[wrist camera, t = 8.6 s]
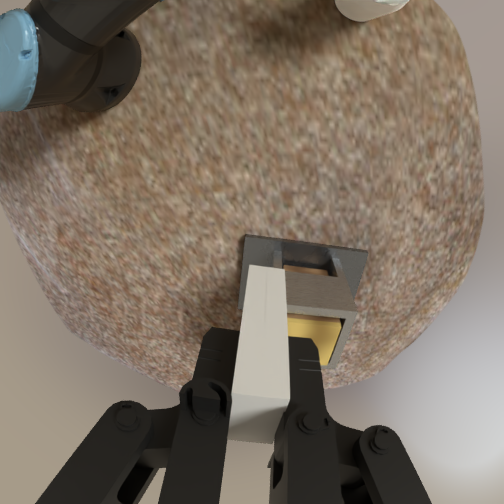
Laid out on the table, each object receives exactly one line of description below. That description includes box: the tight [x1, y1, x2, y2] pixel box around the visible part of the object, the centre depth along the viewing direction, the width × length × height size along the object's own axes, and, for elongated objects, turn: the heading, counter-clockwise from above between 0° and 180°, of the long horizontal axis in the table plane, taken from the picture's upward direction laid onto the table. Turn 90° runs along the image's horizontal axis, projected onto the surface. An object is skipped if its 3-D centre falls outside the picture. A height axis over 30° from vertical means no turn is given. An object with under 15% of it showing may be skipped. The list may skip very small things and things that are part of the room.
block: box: [283, 265, 341, 365], centre depth 44 cm, size 7×7×14 cm
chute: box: [238, 234, 368, 369], centre depth 45 cm, size 20×14×15 cm
